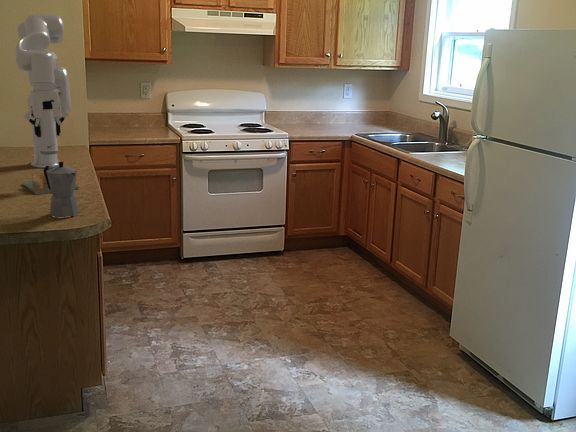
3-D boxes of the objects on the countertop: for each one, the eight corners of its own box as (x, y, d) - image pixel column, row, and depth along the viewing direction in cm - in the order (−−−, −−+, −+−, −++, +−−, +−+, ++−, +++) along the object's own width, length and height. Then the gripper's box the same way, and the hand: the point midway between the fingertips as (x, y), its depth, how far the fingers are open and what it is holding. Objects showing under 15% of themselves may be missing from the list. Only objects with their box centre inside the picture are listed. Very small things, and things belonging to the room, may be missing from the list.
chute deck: (22, 184, 244) (21, 172, 243) (64, 179, 254) (63, 167, 252) (35, 194, 231) (34, 181, 230) (78, 189, 241) (77, 176, 239)
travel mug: (53, 155, 234) (49, 100, 228) (36, 154, 235) (32, 99, 229) (62, 152, 239) (58, 98, 234) (46, 150, 241) (42, 97, 235)
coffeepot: (89, 215, 210) (86, 162, 205) (66, 221, 203) (62, 167, 197) (59, 206, 218) (55, 155, 213) (35, 212, 211) (30, 160, 205)
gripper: (64, 85, 238) (67, 132, 243) (16, 86, 228) (20, 136, 233) (71, 87, 232) (74, 135, 237) (22, 88, 222) (26, 139, 227)
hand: (47, 135), depth 235 cm, fingers closed on travel mug, 6 cm apart
